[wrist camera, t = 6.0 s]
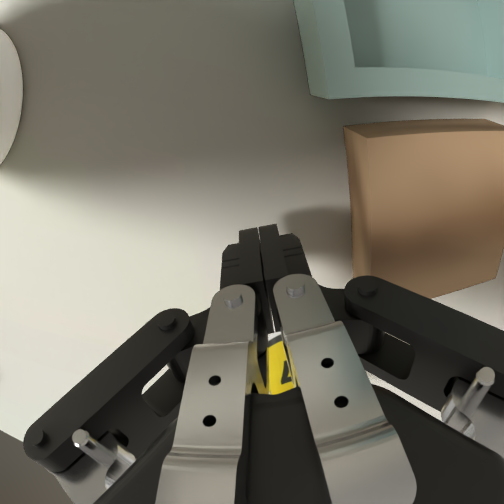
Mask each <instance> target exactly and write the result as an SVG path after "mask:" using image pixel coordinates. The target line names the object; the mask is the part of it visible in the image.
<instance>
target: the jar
mask: <svg viewBox="0 0 504 504" xmlns="http://www.w3.org/2000/svg"><path fill="white" fill-rule="evenodd" d="M22 99H23V79H22V71H21V65H20V60H19V57H18V54H17V51H16V48H15V46H14V44H13V42H12V41H11V39H10V38H9V37H8V35H7V34H6V33H5V32H4V31H2V30H1V29H0V164H1V163H2V161H3V160H4V159H5V157H6V156H7V154H8V152H9V150H10V148H11V146H12V144H13V141H14V138H15V136H16V132H17V129H18V125H19V121H20V116H21V109H22Z"/></svg>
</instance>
